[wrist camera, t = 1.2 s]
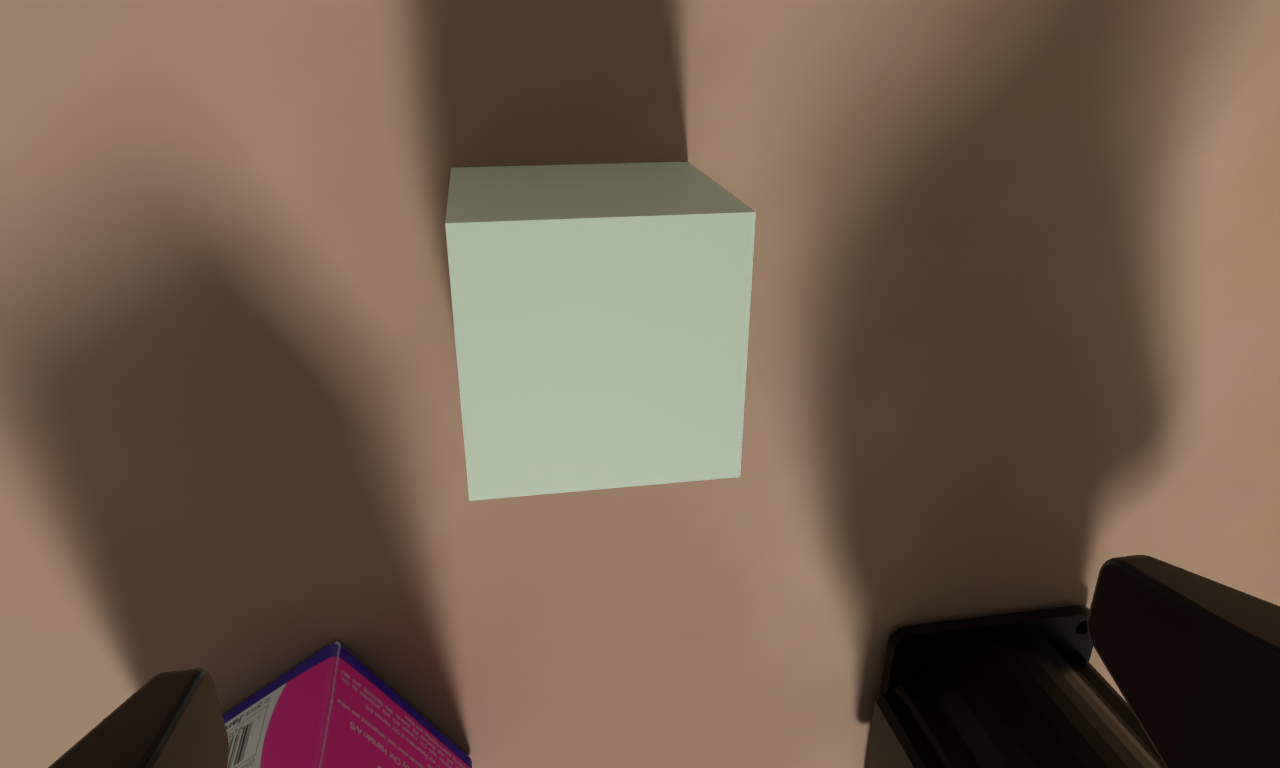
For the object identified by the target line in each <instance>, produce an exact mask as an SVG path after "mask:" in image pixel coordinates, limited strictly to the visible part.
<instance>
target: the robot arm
mask: <svg viewBox="0 0 1280 768" xmlns="http://www.w3.org/2000/svg"><path fill="white" fill-rule="evenodd" d="M910 642H911V643H910ZM907 643H910V644H908V645H907V646H905V645H906V644H907ZM904 646H905V647H904ZM1093 646H1094V648H1095V649H1096V651H1097V653H1098V654H1099V656H1100V658H1101V660H1102V661H1103V663H1104V665H1105V666H1106V668H1107V670H1108V671H1109V673H1110V675H1111V676H1112V678H1113V680H1114V681H1115V683H1116V685H1117V686H1118V688H1119V690H1120V691H1121V693H1122V695H1123V696H1124V698H1125V700H1126V701H1127V702H1126V701H1125V700H1124V699H1123V698H1122V697H1121V696H1120V695H1119V694H1118V693H1117V692H1116V691H1115V690H1114V689H1113V687H1112V686H1111V685H1110V684H1109V683H1108V682H1107V681H1106V680H1105V679H1104V678H1103V677H1102V676H1101V675H1100V674H1099V672H1098V671H1097V670H1096V669H1095V668H1094V667H1093V666H1092V665H1091V664H1090V663H1089V659H1090V656H1091V652H1092V648H1093ZM1127 703H1128V704H1127ZM228 757H229V742H228V735H227V731H226V727H225V723H224V719H223V716H222V712H221V708H220V704H219V701H218V697H217V693H216V689H215V686H214V682H213V679H212V677H211V676H210V674H209V673H208V671H206V670H203V669H199V668H198V669H190V670H181V671H173V672H165V673H161V674H158V675H156V676H155V677H153V678H152V679H150V680H149V681H148V682H147V683H146V684H145V685H143V686H142V687H141V688H140V689H139V690H138V691H136V692H135V693H134V694H133V695H132V696H131V697H129V698H128V699H127V700H126V701H125V702H124V703H123V704H121V705H120V706H119V707H118V708H117V709H116V710H114V711H113V712H112V713H111V714H110V715H109V716H107V717H106V718H105V719H104V720H103V721H102V722H101V723H99V724H98V725H97V726H96V727H95V728H94V729H92V730H91V731H90V732H89V733H88V734H87V735H85V736H84V737H83V738H82V739H81V740H80V741H78V742H77V743H76V744H75V745H74V746H73V747H72V748H70V749H69V750H68V751H67V752H66V753H65V754H63V755H62V756H61V757H60V758H59V759H58V760H56V761H55V762H54V763H53V764H52V765H51V766H49V767H48V768H227V765H228ZM866 762H867V765H868V767H869V768H1280V606H1277V605H1275V604H1272V603H1270V602H1267V601H1264V600H1262V599H1259V598H1257V597H1254V596H1251V595H1249V594H1246V593H1244V592H1241V591H1238V590H1236V589H1233V588H1231V587H1228V586H1225V585H1223V584H1220V583H1218V582H1215V581H1213V580H1210V579H1207V578H1205V577H1202V576H1200V575H1197V574H1194V573H1192V572H1189V571H1187V570H1184V569H1181V568H1179V567H1176V566H1174V565H1171V564H1168V563H1166V562H1163V561H1161V560H1158V559H1156V558H1153V557H1150V556H1146V555H1134V556H1126V557H1117V558H1112V559H1109V560H1107V561H1106V562H1105V563H1104V564H1103V566H1102V567H1101V569H1100V572H1099V576H1098V579H1097V583H1096V587H1095V591H1094V595H1093V599H1092V603H1091V607H1090V609H1089V608H1087V607H1086V606H1081V605H1077V606H1069V607H1061V608H1052V609H1044V610H1036V611H1028V612H1019V613H1011V614H1003V615H995V616H986V617H978V618H970V619H962V620H953V621H945V622H937V623H929V624H920V625H912V626H905V627H902V628H899V629H897V630H896V631H894V632H893V633H892V635H891V636H890V637H889V640H888V644H887V650H886V657H885V664H884V670H883V677H882V683H881V690H880V694H879V696H878V697H877V699H876V701H875V704H874V710H873V717H872V724H871V730H870V737H869V744H868V750H867V757H866Z"/></svg>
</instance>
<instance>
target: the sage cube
mask: <svg viewBox="0 0 1280 768" xmlns="http://www.w3.org/2000/svg"><path fill="white" fill-rule="evenodd" d="M755 218H756V212H755V211H754V210H752V209H751V208H750V207H748V206H747V205H746V204H744V203H743V202H742V201H740V200H739V199H738V198H736V197H735V196H734V195H732V194H731V193H730V192H728V191H727V190H726V189H724V188H723V187H722V186H720V185H719V184H717V183H716V182H715V181H713V180H712V179H711V178H709V177H708V176H707V175H705V174H704V173H703V172H701V171H700V170H699V169H697V168H696V167H695V166H693V165H692V164H691V163H689V162H649V163H611V164H572V165H533V166H495V167H456V168H451V173H450V183H449V192H448V201H447V210H446V219H445V228H446V240H447V251H448V262H449V274H450V285H451V297H452V308H453V320H454V331H455V342H456V354H457V365H458V377H459V388H460V400H461V411H462V423H463V434H464V445H465V457H466V468H467V480H468V491H469V501H473V500H484V499H496V498H507V497H518V496H530V495H541V494H552V493H564V492H575V491H586V490H598V489H609V488H620V487H632V486H643V485H654V484H666V483H677V482H688V481H700V480H711V479H722V478H734V477H740V470H741V453H742V436H743V419H744V402H745V386H746V369H747V352H748V335H749V319H750V302H751V285H752V268H753V251H754V235H755Z"/></svg>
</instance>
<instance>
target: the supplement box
mask: <svg viewBox="0 0 1280 768" xmlns="http://www.w3.org/2000/svg"><path fill="white" fill-rule="evenodd" d="M222 716H223V719H224V723H225V727H226V731H227V735H228V742H229V757H228V765H227V768H472V761H471V759H470V757H469V756H468V755H466V754H465V753H464V752H463V751H462V750H461V749H459V748H458V747H457V746H456V745H455V744H454V743H453V742H452V741H450V740H449V739H448V738H447V737H446V736H445V735H443V734H442V733H441V732H440V731H439V730H438V729H437V728H435V727H434V726H433V725H432V724H431V723H430V722H429V721H427V720H426V719H425V718H424V717H423V716H422V715H421V714H419V713H418V712H417V711H416V710H415V709H414V708H413V707H411V706H410V705H409V704H408V703H407V702H406V701H405V700H403V699H402V698H401V697H400V696H399V695H398V694H397V693H396V692H395V691H393V690H392V689H391V688H390V687H388V686H387V685H386V684H385V683H384V682H383V681H382V680H381V679H379V678H378V677H377V676H376V675H375V674H374V673H372V672H371V671H370V670H369V669H368V668H367V667H366V666H365V665H364V664H363V663H362V662H361V661H360V660H358V659H357V658H356V657H355V656H354V655H353V654H352V653H351V652H350V651H349V650H348V649H347V648H345V647H344V645H343V644H342V643H340V642H338V641H336V642H334V643H332V644H330V645H328V646H326V647H324V648H323V649H321V650H320V651H318V652H317V653H315V654H314V655H312V656H311V657H310V658H308V659H307V660H305V661H303V662H302V663H300V664H299V665H297V666H296V667H294V668H293V669H291V670H290V671H288V672H287V673H285V674H284V675H282V676H281V677H279V678H278V679H276V680H275V681H273V682H272V683H270V684H268V685H267V686H265V687H264V688H263V689H261V690H260V691H258V692H257V693H255V694H253V695H252V696H251V697H249V698H248V699H246V700H245V701H243V702H242V703H240V704H239V705H237V706H236V707H234V708H233V709H232V710H230V711H229V712H227V713H226V714H224V715H222Z"/></svg>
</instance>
